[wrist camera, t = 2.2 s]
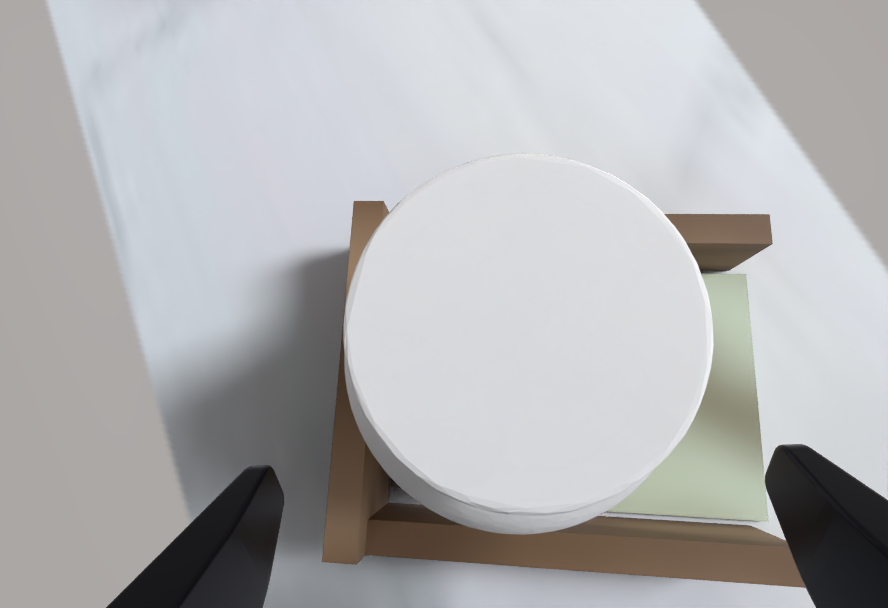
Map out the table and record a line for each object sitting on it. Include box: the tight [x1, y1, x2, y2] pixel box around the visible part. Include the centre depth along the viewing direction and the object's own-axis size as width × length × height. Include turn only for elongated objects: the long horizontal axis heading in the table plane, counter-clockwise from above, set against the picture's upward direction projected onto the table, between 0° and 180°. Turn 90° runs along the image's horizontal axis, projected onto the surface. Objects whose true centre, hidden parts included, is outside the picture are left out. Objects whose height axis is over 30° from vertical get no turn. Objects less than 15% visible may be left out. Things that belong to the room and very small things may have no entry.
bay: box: [322, 201, 806, 588], centre depth 17 cm, size 11×14×4 cm
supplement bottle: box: [343, 154, 714, 534], centre depth 12 cm, size 7×7×13 cm
